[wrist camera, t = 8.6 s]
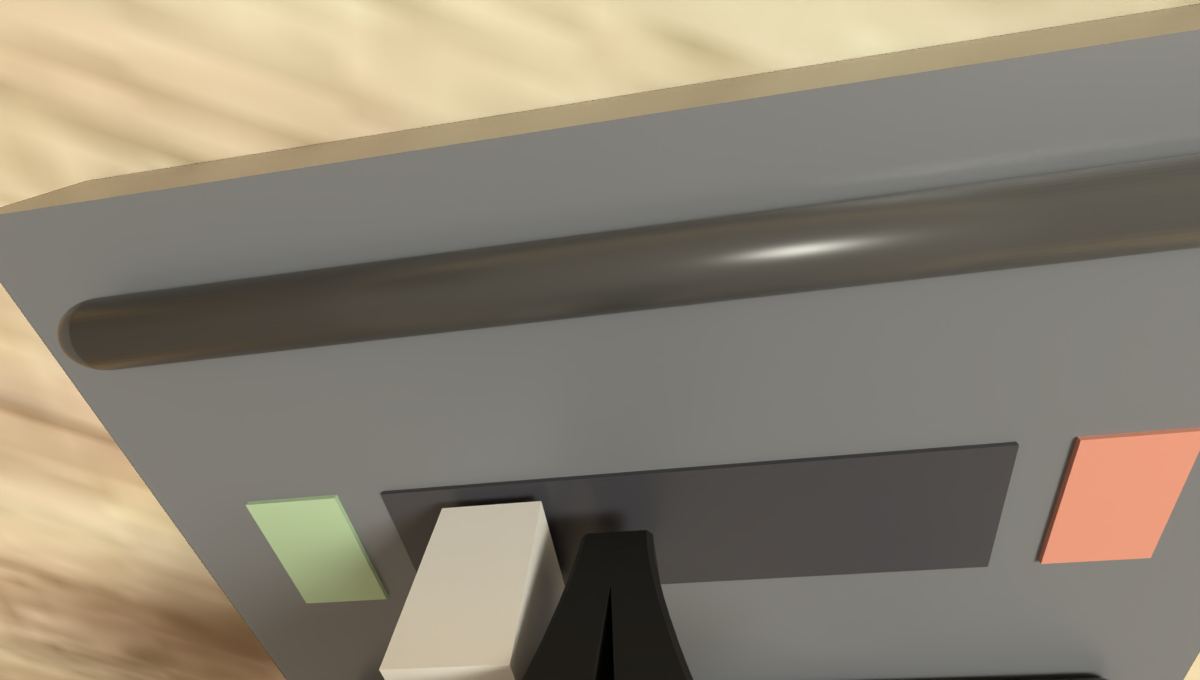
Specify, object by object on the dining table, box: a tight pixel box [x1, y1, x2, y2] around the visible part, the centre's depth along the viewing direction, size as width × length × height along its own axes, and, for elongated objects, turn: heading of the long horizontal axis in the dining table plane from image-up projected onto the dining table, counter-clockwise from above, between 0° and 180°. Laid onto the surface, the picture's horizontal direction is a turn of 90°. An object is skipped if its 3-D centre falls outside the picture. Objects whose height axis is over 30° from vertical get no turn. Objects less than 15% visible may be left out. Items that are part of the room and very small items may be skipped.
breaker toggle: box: [379, 501, 565, 680], centre depth 10 cm, size 3×2×3 cm
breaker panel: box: [0, 4, 1200, 680], centre depth 12 cm, size 16×22×4 cm
